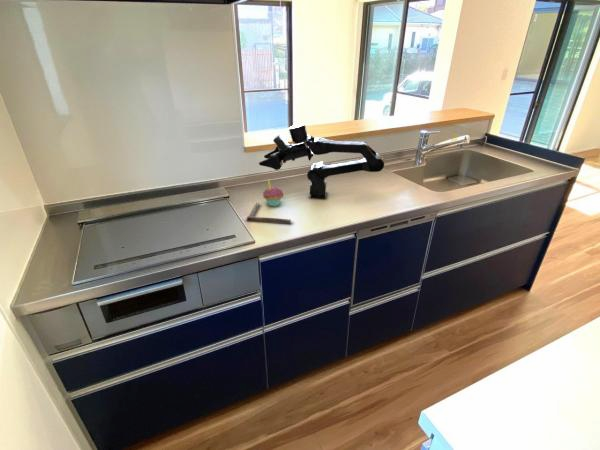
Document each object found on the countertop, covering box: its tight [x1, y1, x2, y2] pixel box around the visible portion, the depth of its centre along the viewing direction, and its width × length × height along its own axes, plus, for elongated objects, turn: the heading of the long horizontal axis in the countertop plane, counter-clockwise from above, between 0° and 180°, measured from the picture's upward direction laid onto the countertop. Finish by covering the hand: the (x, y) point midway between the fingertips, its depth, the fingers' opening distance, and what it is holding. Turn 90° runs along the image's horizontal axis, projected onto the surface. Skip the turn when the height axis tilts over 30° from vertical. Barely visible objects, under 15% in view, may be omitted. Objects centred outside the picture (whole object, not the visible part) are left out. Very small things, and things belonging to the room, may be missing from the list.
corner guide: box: [246, 202, 292, 225], centre depth 137 cm, size 17×13×2 cm
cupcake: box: [262, 179, 284, 207], centre depth 143 cm, size 9×8×12 cm
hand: (261, 160), depth 149 cm, fingers open, 9 cm apart
